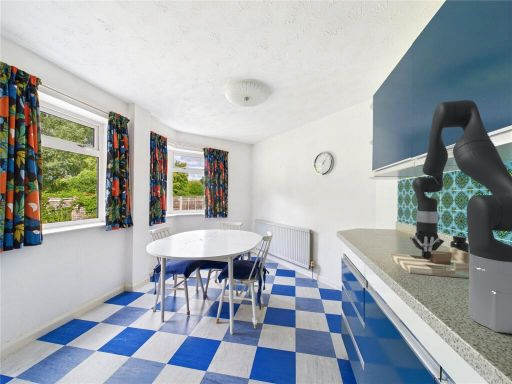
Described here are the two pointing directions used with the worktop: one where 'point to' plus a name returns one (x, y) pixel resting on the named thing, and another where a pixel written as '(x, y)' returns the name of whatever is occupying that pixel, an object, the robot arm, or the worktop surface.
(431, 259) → the walnut block
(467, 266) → the box
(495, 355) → the worktop surface
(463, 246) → the supplement bottle
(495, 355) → the worktop surface
